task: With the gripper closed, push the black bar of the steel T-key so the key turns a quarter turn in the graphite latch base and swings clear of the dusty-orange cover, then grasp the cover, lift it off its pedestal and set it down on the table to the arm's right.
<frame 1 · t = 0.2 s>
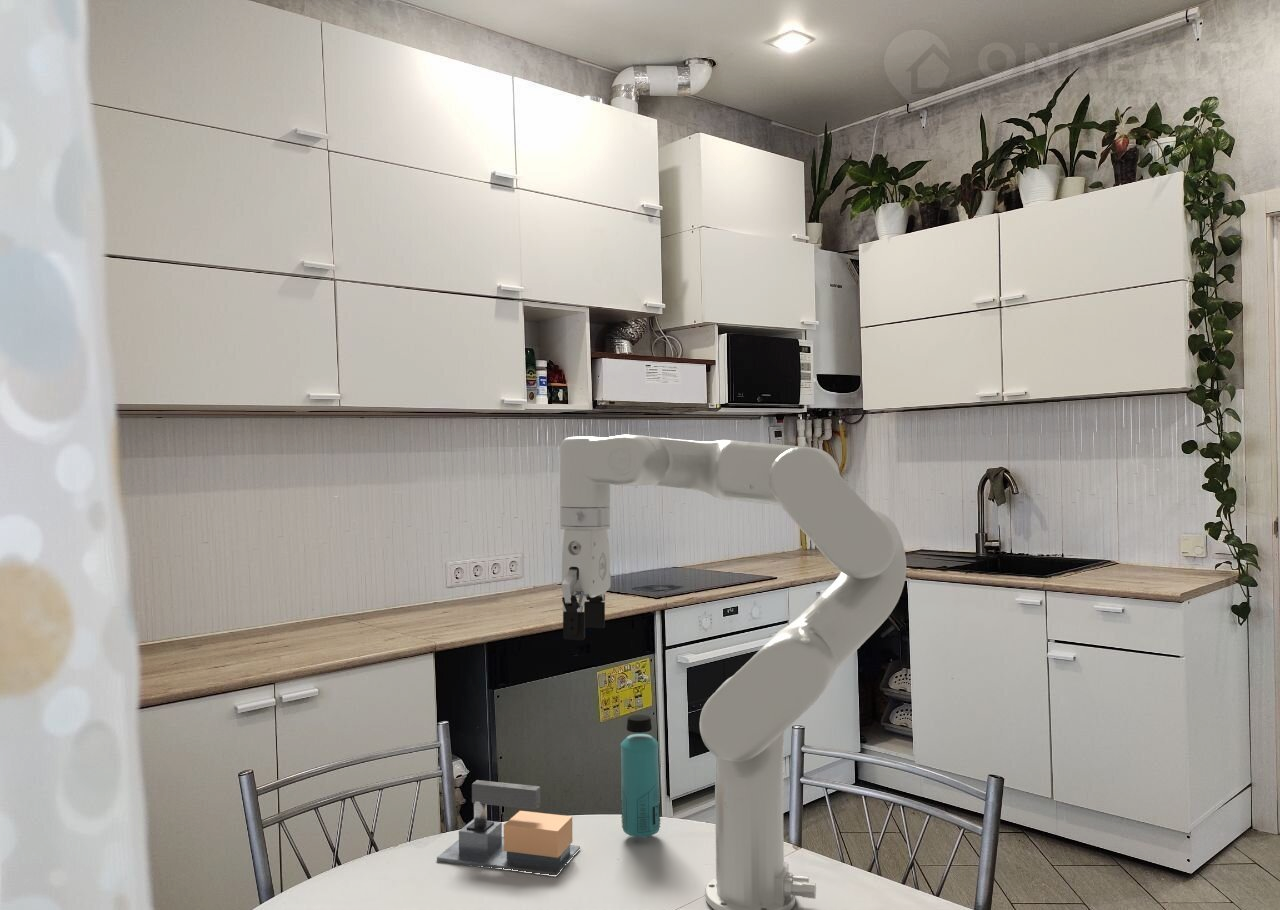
hand: (584, 633, 136), 36 cm above the table, tool pointing down, fingers open, 9 cm apart
cover: (538, 846, 142), point 2 cm above the table, touching latch base
beverage bottle: (640, 839, 149), on the table
t key: (506, 805, 143), point 8 cm above the table, hinge at 0.0°
latch base: (509, 855, 143), on the table
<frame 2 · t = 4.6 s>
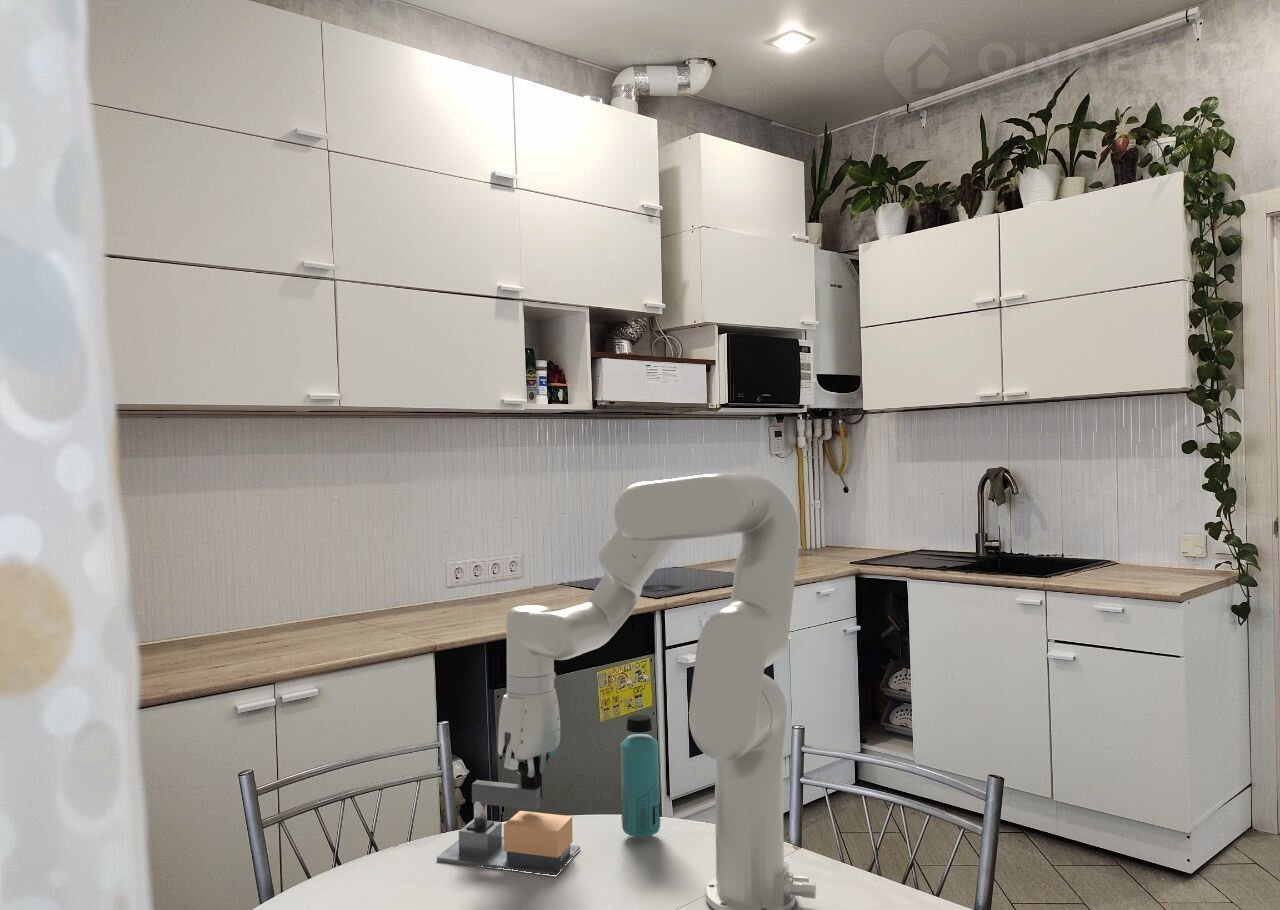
hand: (531, 798, 145), 8 cm above the table, tool pointing down, fingers closed
t key: (506, 805, 143), point 8 cm above the table, hinge at 0.1°, touching gripper
everything else where it was.
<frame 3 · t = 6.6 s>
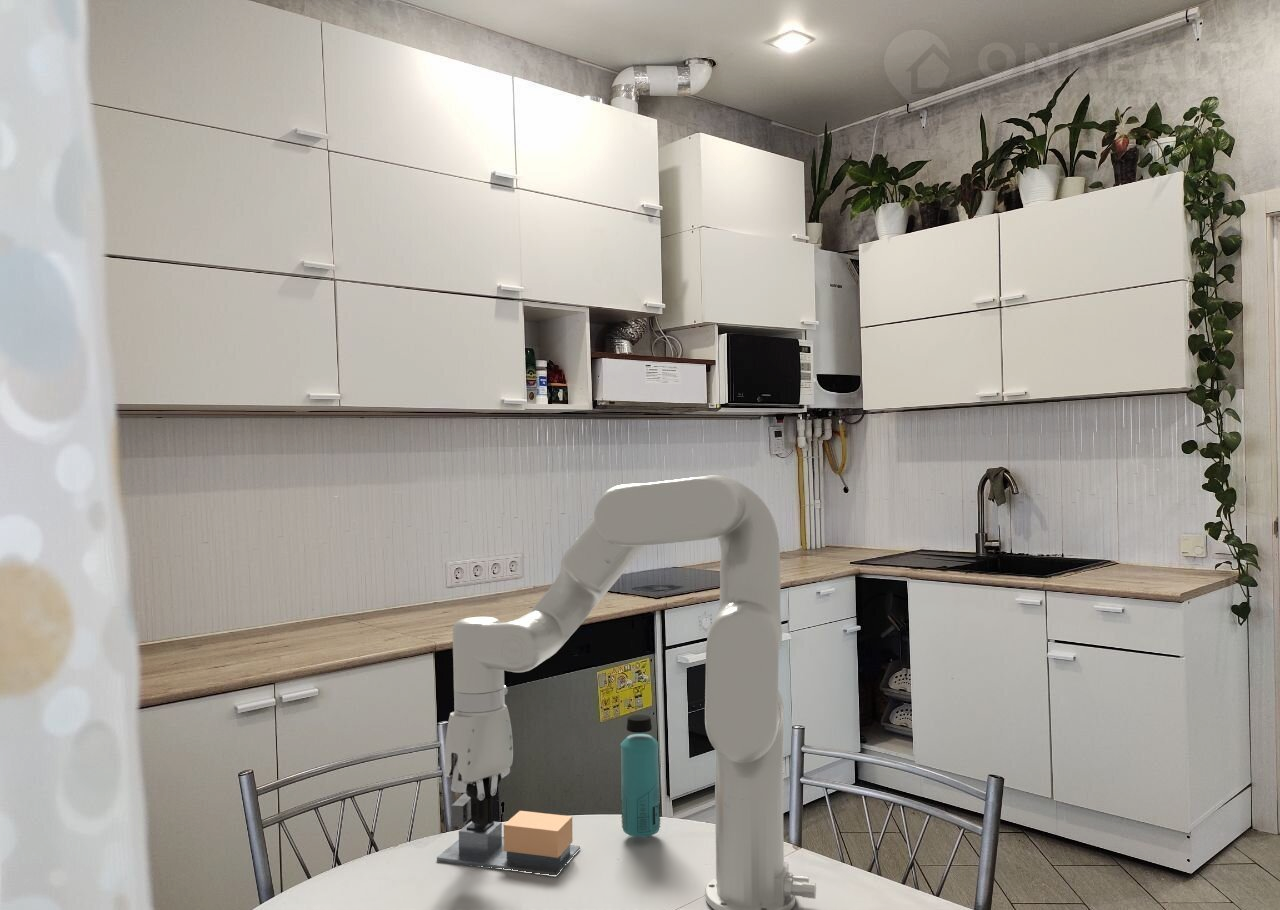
hand: (482, 822, 137), 8 cm above the table, tool pointing down, fingers closed
t key: (470, 813, 140), point 8 cm above the table, hinge at 82.4°, touching gripper
everything else where it was.
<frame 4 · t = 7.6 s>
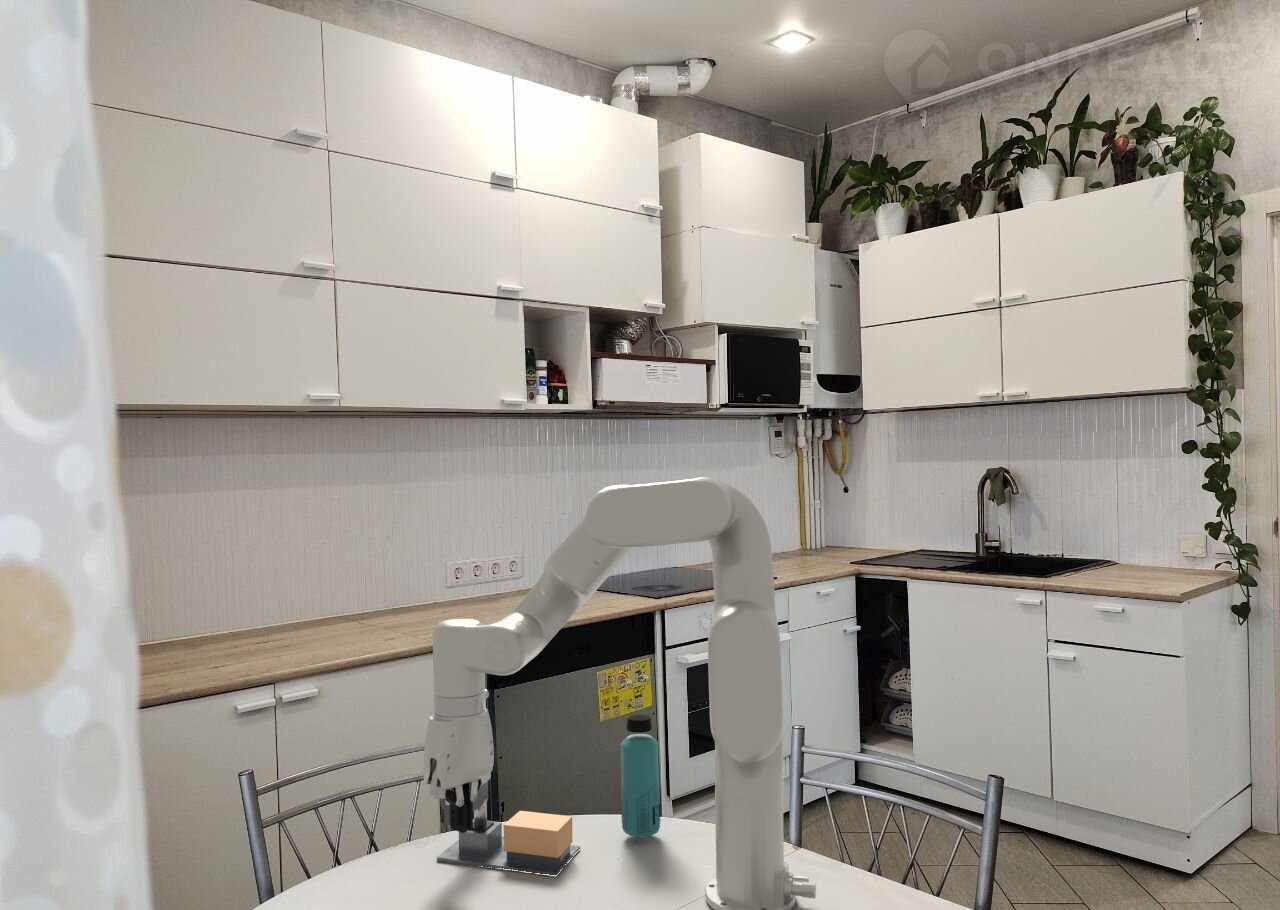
hand: (461, 828, 134), 8 cm above the table, tool pointing down, fingers closed
t key: (467, 813, 140), point 8 cm above the table, hinge at 89.2°, touching gripper
everything else where it was.
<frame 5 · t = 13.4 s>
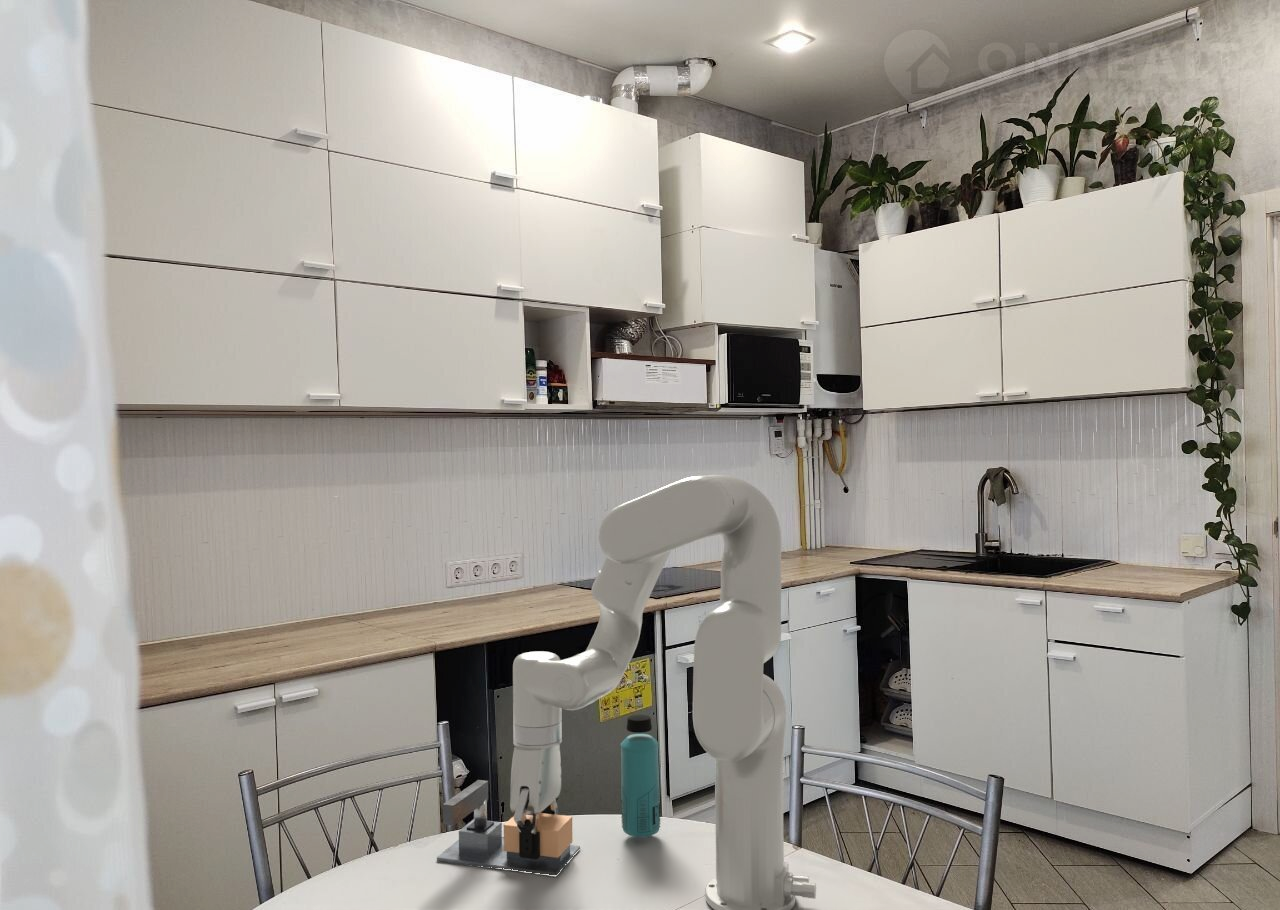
hand: (538, 847, 142), 2 cm above the table, tool pointing down, fingers closed on cover, 6 cm apart
cover: (538, 846, 142), point 2 cm above the table, touching gripper, latch base
t key: (466, 813, 140), point 8 cm above the table, hinge at 91.0°
everything else where it was.
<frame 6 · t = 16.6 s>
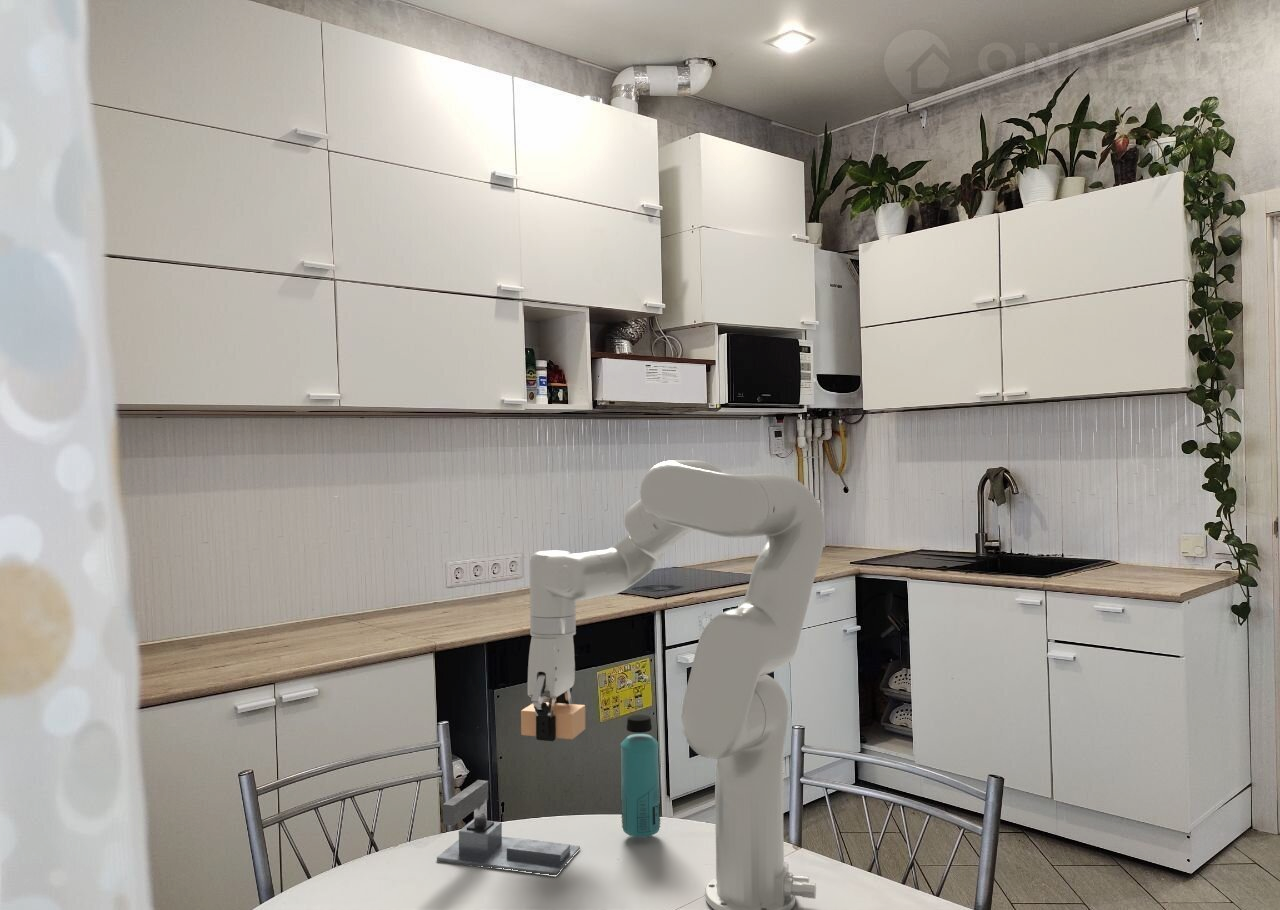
hand: (553, 733, 151), 17 cm above the table, tool pointing down, fingers closed on cover, 6 cm apart
cover: (553, 731, 151), point 17 cm above the table, touching gripper
everything else where it was.
when the fingers open (1 cm above the table, at t = 19.9 s): cover drops 2 cm, on the table.
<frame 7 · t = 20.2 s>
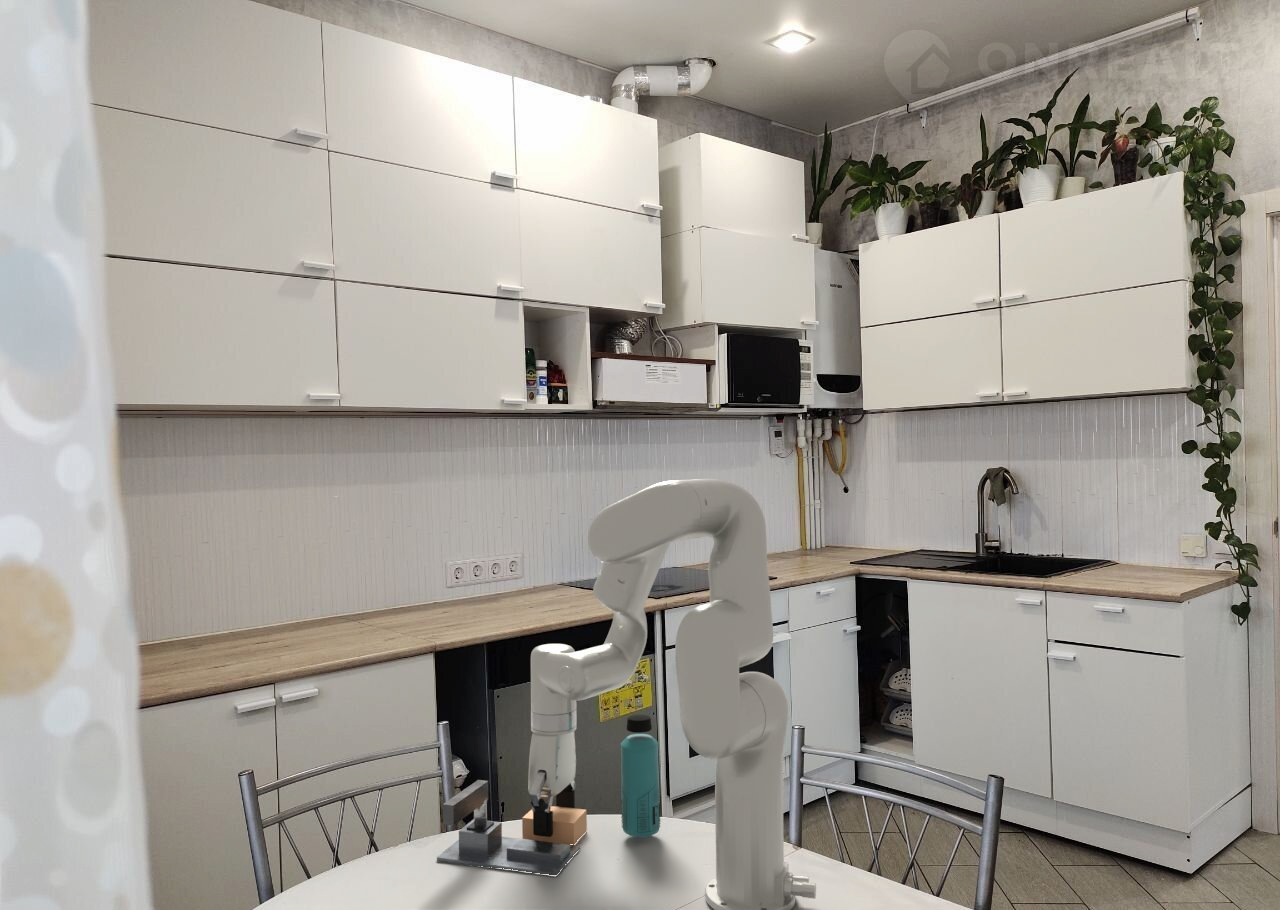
hand: (554, 824, 151), 2 cm above the table, tool pointing down, fingers open, 9 cm apart
cover: (554, 837, 151), on the table
everything else where it was.
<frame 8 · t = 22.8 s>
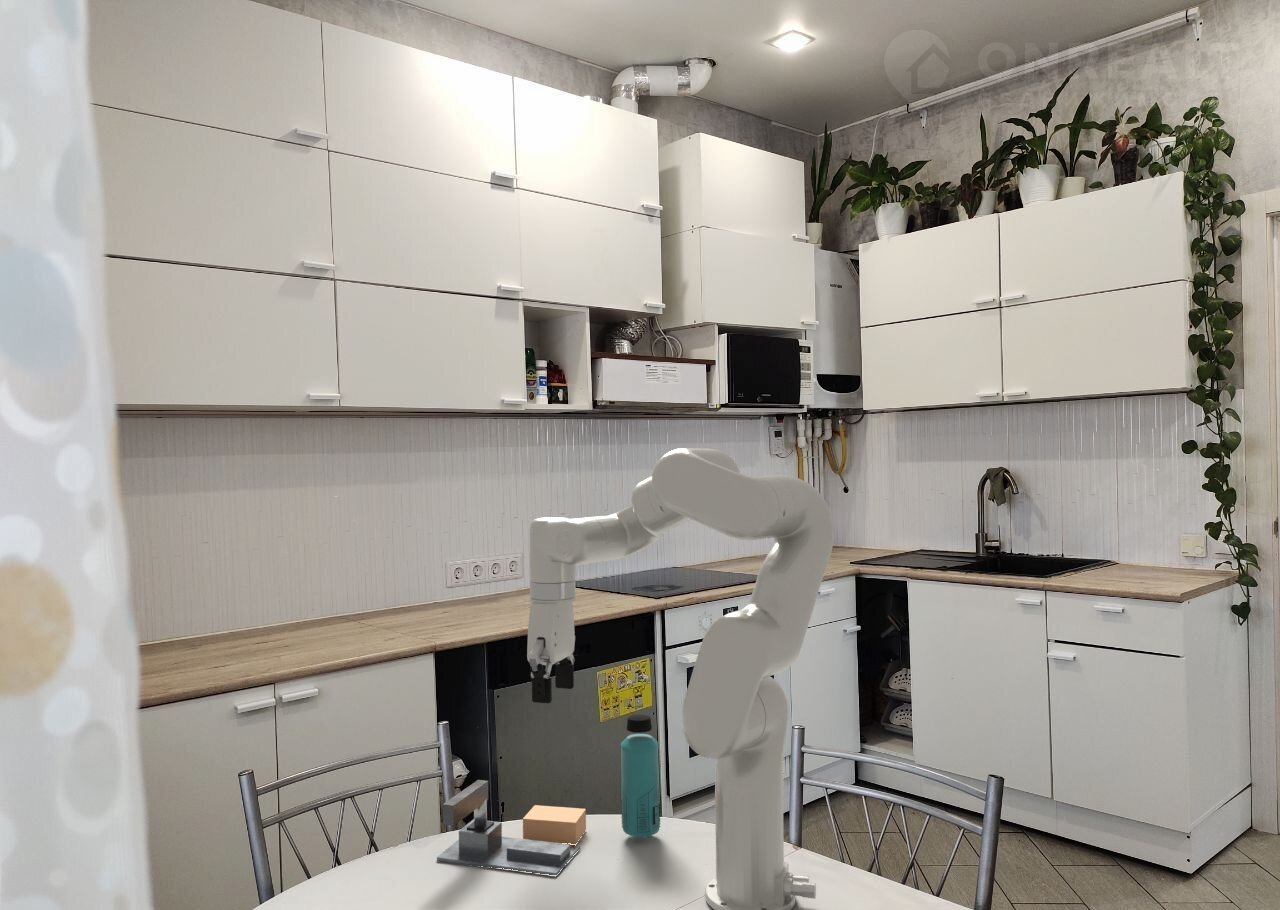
hand: (553, 695, 151), 23 cm above the table, tool pointing down, fingers open, 9 cm apart
nothing on the table moved.
at the end: t key at +91° (first picture: +0°); cover inside the target area (0.0 cm from its centre), on the table; cover tilted 0° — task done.
